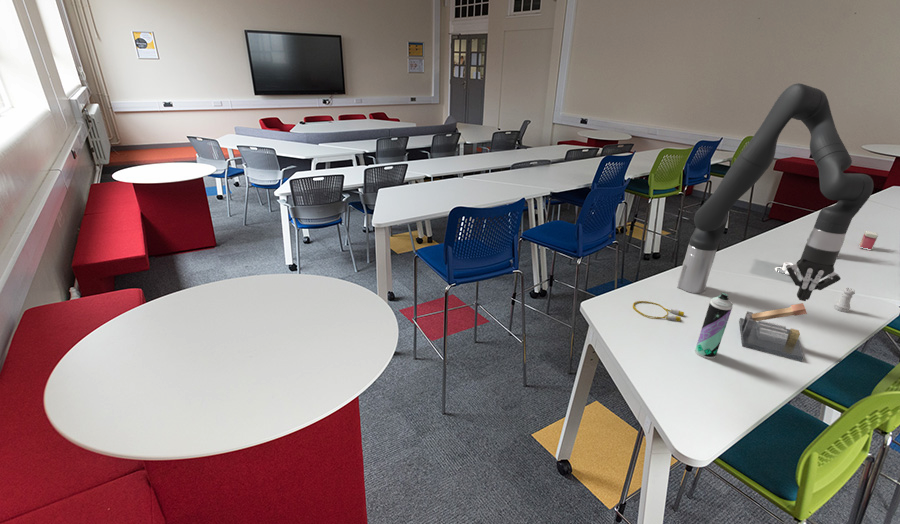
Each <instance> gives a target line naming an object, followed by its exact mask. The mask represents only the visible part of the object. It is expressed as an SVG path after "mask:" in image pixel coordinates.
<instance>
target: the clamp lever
mask: <svg viewBox="0 0 900 524" xmlns="http://www.w3.org/2000/svg"><path fill="white" fill-rule="evenodd" d="M806 309H807V308H806V307H805V304H804V303H803V302H801V303H796V304H791V305H790V307H784V308H778V309H772V310H766V311H760V312H755V313H754V312H753V314H751V313H748V314H747V315H746V314H745V315H746V318H747V320H748V319H753V320H754V321H756V322H758V321H766V320H773V319H777V318H779V319H780V318H784V317H792V316H803V315H806V314H807V315H808V312H807V310H806Z"/></svg>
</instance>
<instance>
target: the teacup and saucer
mask: <svg viewBox="0 0 900 524" xmlns="http://www.w3.org/2000/svg"><path fill="white" fill-rule="evenodd" d="M787 265H790V266H792V265H794V264H793V263H792V262H790V261H784V262H783V265H782V267H781V266H777V267H775V268H774V270H775V272H777V268H780V269H782V272H783V271H784V272H783V273H785V274H787V275H786V276H790V275H789V273H788V271H787V269H786V266H787ZM777 273H779V270H778V272H777ZM795 274H796V273H795Z"/></svg>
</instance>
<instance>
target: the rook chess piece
mask: <svg viewBox="0 0 900 524" xmlns="http://www.w3.org/2000/svg"><path fill="white" fill-rule="evenodd" d="M842 291H843V293H842V296H841V298H840V299H839V300H838V301H836V302H835V303H834V305H833V308H834V309H835V308H836V309H838V310H837V311H839V310H840V311H839V312H842V311H844V313H848V312H850V310H851V299H852V298H853V295H856V293H855V291H856V290H855V289H853V288H850V287H846V288H844V289H843V290H842ZM836 309H835V310H836Z"/></svg>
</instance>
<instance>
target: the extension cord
mask: <svg viewBox="0 0 900 524" xmlns="http://www.w3.org/2000/svg"><path fill="white" fill-rule="evenodd" d="M641 303H643V304H651V305H656V306H658V307H660V308H662V309H664V311H665V312H666V315H664V316H652V315H647V314H645V313H643V312H641V311H640V310H638V309H637V308H636V306H635V305H637V304H641ZM632 309H633V311H635V312H636V313H637V314H639V315H640V316H642V317H645V318H647V319H652V320H659V319H660V320H661V319H666V320H667V321H672V322H681V321H682V318H681V317H684V316H685V315H684V314H685V311H681V310H678V309H672V308H671V309H668V308H665V307H664V306H662V305H661V304H659V303H657V302H653V301H647V300H637V301H636V300H635V301H634V302H633V304H632ZM669 312H670V314H673V315H669ZM668 315H669V316H668Z"/></svg>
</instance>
